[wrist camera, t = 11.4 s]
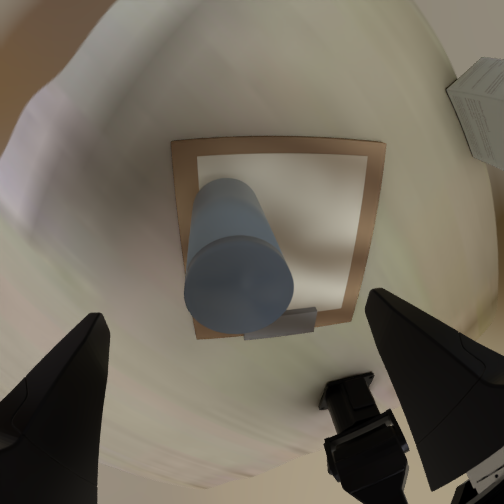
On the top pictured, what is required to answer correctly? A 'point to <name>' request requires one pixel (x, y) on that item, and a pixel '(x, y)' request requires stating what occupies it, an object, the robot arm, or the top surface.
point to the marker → (234, 261)
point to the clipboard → (296, 214)
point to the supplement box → (482, 109)
